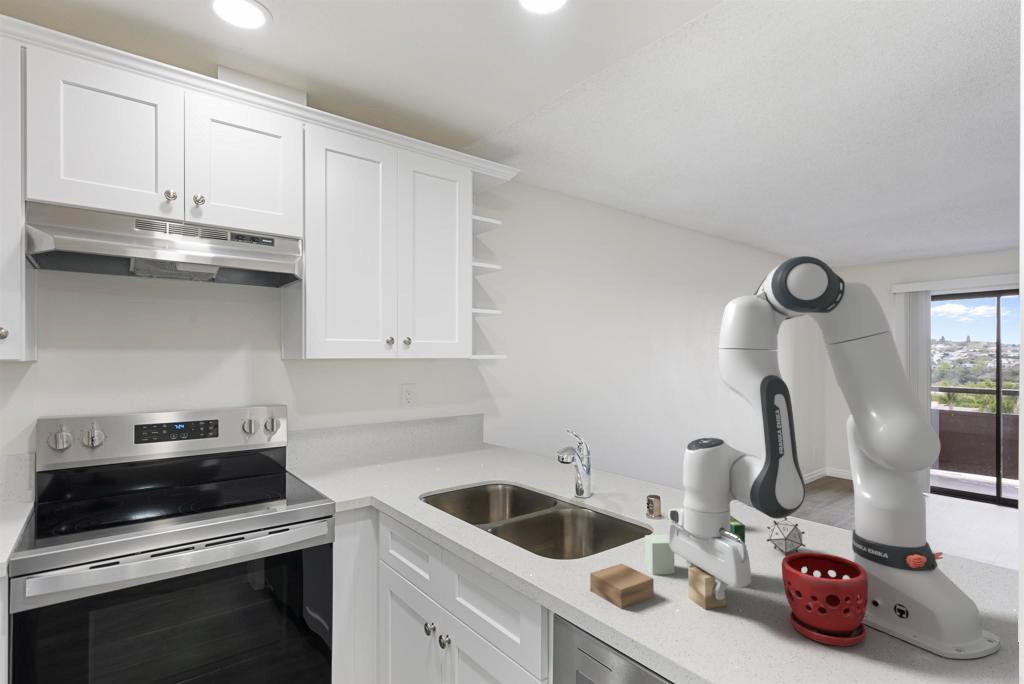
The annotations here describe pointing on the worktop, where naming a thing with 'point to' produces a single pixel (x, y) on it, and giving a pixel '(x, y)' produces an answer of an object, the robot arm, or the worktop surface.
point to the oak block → (703, 588)
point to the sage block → (658, 555)
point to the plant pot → (826, 597)
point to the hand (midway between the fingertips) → (707, 590)
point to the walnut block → (622, 585)
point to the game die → (786, 536)
